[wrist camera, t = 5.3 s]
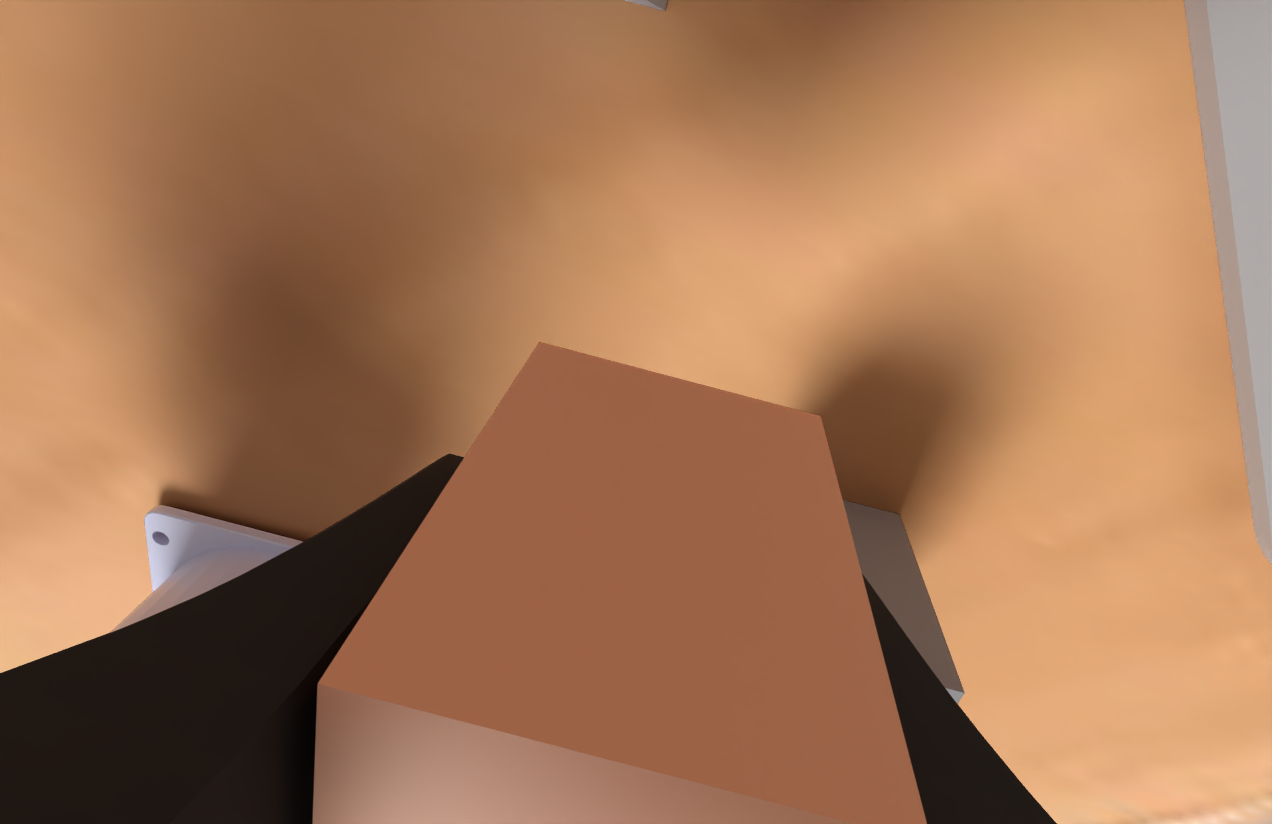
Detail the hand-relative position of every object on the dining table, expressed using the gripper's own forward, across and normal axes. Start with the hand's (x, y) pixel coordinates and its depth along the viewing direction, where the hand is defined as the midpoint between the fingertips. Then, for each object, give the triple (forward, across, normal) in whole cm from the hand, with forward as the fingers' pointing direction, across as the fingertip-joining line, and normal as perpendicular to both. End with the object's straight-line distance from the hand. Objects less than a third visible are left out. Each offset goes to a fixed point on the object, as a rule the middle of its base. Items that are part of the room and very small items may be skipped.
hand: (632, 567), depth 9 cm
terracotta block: (+2, 0, 0) cm, 2 cm away
